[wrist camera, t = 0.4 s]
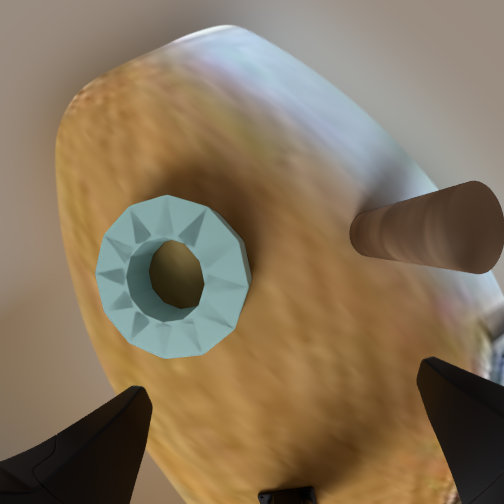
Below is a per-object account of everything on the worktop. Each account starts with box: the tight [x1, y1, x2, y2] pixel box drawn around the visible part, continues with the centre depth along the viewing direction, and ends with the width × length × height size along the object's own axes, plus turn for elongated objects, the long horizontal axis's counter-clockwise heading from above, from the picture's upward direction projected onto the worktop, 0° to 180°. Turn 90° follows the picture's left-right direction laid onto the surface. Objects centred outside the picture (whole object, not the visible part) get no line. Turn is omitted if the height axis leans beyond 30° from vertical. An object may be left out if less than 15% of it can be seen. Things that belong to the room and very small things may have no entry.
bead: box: [95, 195, 252, 359], centre depth 20 cm, size 11×11×4 cm
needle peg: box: [350, 181, 504, 274], centre depth 14 cm, size 4×4×13 cm
